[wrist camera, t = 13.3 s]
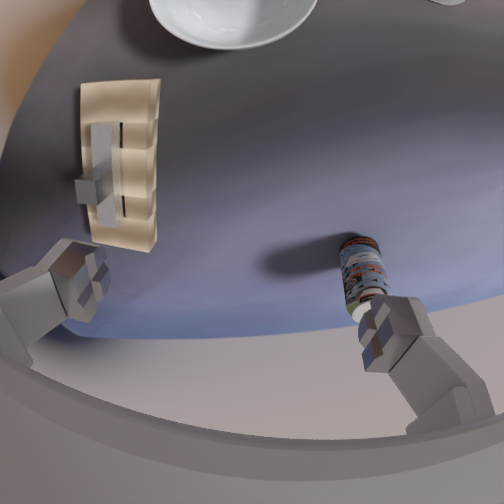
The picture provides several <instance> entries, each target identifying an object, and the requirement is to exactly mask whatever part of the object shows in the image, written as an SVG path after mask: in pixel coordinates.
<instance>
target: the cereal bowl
mask: <svg viewBox="0 0 504 504" xmlns="http://www.w3.org/2000/svg"><path fill="white" fill-rule="evenodd" d="M316 2H317V0H149V3H150V7H151V9H152V12H153V14H154V15H155V17H156V19H157V20H158V21H159V23H160V24H161V25H162V26H163V27H164V28H165V29H166V30H167V31H169V32H170V33H171V34H173V35H174V36H176V37H178V38H180V39H181V40H183V41H186V42H187V43H190V44H193V45H196V46H200V47H203V48H208V49H215V50H245V49H251V48H256V47H260V46H263V45H267V44H270V43H272V42H275V41H276V40H279V39H281V38H283V37H284V36H286V35H288V34H289V33H291V32H292V31H293V30H295V29H296V28H297V27H299V26H300V24H302V23H303V21H304V20H305V19H306V18H307V17H308V16H309V14H310V13H311V11H312V10H313V8H314V7H315V5H316Z"/></svg>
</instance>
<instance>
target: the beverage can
mask: <svg viewBox="0 0 504 504" xmlns="http://www.w3.org/2000/svg"><path fill="white" fill-rule="evenodd" d="M339 258H340V264H341V271H342V278H343V285H344V292H345V300H346V307H347V311H348V312H349V314H350V315H351V316H352V318H353V319H354V320H355V321H356V322H358V323H360V320H361V318H362V316H363V314H364V313H365V312H367V311H368V310H370V309H371V305H370V302H371V300H372V298H373V296H375V295H376V294H377V293H379V294H386V295H392V294H391V290H390V286H389V282H388V278H387V274H386V271H385V267H384V264H383V260H382V257H381V253H380V250H379V247H378V244H377V243H376V242H375V241H374V240H373V239H371V238H369V237H363V236H361V237H355V238H352V239H350V240H348V241H347V242H345V243H344V244H343V245H342V247H341V248H340V251H339Z"/></svg>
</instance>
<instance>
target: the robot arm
mask: <svg viewBox="0 0 504 504" xmlns="http://www.w3.org/2000/svg"><path fill="white" fill-rule="evenodd" d="M431 1H434V2H436V3H440V4H445V5H457V4H460V3H462V2H464V1H465V0H431ZM106 258H107V255H106V251H105V248H104V247H102V246H100V245H96V244H91V243H87V242H83V241H78V240H73V239H69V238H62V239H60V240H59V241H58V243H57V244H56V245H55V246H54V247H53V248H52V249H51V250H50V251H49V252H48V253H47V254H46V255H45V256H44V257H43V258H42V260H41V261H40V262H39V263H38V264H37V265H36V266H35V267H32V266H31V267H29V268H27V269H25V270H22V271H20V272H18V273H16V274H14V275H12V276H10V277H8V278H6V279H4V280H2V281H0V504H504V413H502V414H499V415H495V412H494V409H493V406H492V402H491V399H490V396H489V393H488V390H487V387H486V384H485V382H484V381H483V380H482V379H481V378H480V377H479V376H478V375H477V374H476V372H475V371H474V370H473V369H472V368H471V367H470V366H469V365H468V364H467V363H466V362H465V361H464V360H462V358H461V357H460V356H459V355H458V354H456V352H455V351H454V350H453V349H452V348H451V347H450V346H448V345H447V344H446V342H445V341H444V340H442V339H441V338H440V337H436V335H435V332H434V330H433V327H432V325H431V323H430V320H429V318H428V316H427V313H426V311H425V309H424V306H423V304H422V302H421V300H419V299H418V298H413V297H401V296H393V295H386V294H379V293H377V294H376V295H375V296H373V298H372V300H371V302H370V305H371V309H370V310H368V311H367V312H365V313H364V314H363V316H362V318H361V320H360V324H359V328H358V337H359V342H360V343H361V344H362V345H363V347H364V348H365V349H364V351H363V353H362V358H363V363H364V369H365V372H380V373H381V372H382V373H389V376H390V377H391V379H392V380H393V382H394V383H395V385H396V386H397V387H398V389H399V390H400V391H401V393H402V395H403V396H404V397H405V399H406V400H407V402H408V403H409V405H410V406H411V408H412V409H413V411H414V412H415V413H416V415H417V416H418V418H417V419H415V420H414V421H413V422H411V423H410V424H409V425H408V426H407V427H406V432H407V435H400V436H391V437H381V438H367V439H350V440H349V439H348V440H309V439H307V440H306V439H288V438H274V437H263V436H254V435H245V434H238V433H231V432H224V431H218V430H212V429H206V428H202V427H196V426H191V425H187V424H182V423H178V422H174V421H170V420H166V419H162V418H158V417H154V416H151V415H147V414H143V413H140V412H136V411H133V410H130V409H127V408H124V407H121V406H118V405H115V404H112V403H109V402H106V401H103V400H101V399H98V398H95V397H93V396H90V395H88V394H85V393H83V392H80V391H78V390H75V389H73V388H71V387H68V386H66V385H64V384H62V383H59V382H57V381H55V380H53V379H51V378H49V377H46V376H44V375H42V374H40V373H38V372H36V371H34V370H32V369H31V366H32V364H33V359H32V358H31V356H30V354H29V353H28V352H27V350H26V348H27V347H29V346H30V345H31V344H33V343H34V342H35V341H37V340H38V339H39V338H41V337H42V336H44V335H45V334H46V333H48V332H49V331H50V330H52V329H53V328H55V327H56V326H57V325H59V324H60V323H61V322H63V321H64V320H66V319H67V317H69V318H72V319H75V320H79V321H82V322H86V323H89V322H90V321H91V319H92V317H93V316H94V314H95V312H96V311H97V309H98V305H97V302H98V301H99V300H101V299H103V298H104V297H105V295H106V294H107V292H108V289H109V286H110V271H109V268H108V267H107V266H106V264H105V263H104V262H105V260H106Z"/></svg>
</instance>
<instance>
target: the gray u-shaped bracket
mask: <svg viewBox="0 0 504 504" xmlns="http://www.w3.org/2000/svg"><path fill="white" fill-rule="evenodd" d="M121 141H123V122H120V121H99V122H96V123H94V124H91V148H92V165H93V167H92V168H91V169H89V170H88V171H86V172H85V173H83V174H82V175H81V176H79V177H78V178H76V179H75V187H76V195H77V202H78V203H81V204H88V205H95V206H96V207H97V215H98V222H99V226H103V227H109V228H115V229H118V228H119V226H120V225H121V224H122V223H123V222H124V220H123V211H124V210H125V197H124V196H122V195H121V177H120V142H121Z"/></svg>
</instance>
